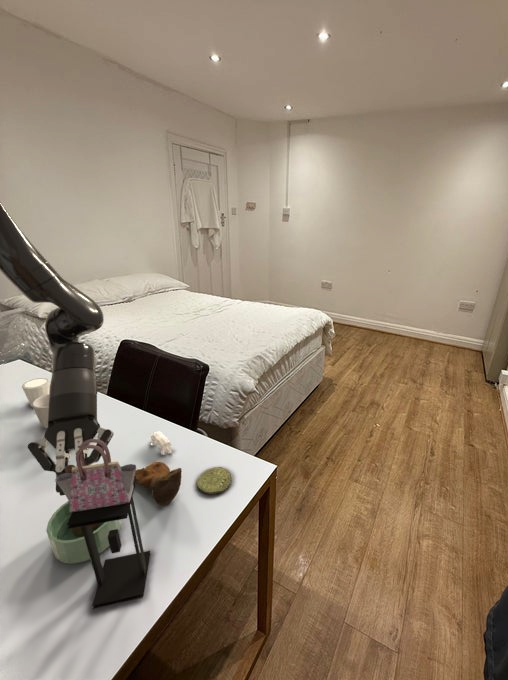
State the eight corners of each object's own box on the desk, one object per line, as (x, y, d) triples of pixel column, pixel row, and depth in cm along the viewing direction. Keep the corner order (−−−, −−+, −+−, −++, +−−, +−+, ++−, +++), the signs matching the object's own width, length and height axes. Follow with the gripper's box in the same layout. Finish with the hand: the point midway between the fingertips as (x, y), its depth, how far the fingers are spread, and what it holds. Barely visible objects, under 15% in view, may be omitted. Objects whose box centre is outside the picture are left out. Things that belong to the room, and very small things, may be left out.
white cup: (27, 400, 103) (21, 381, 100) (53, 393, 107) (48, 375, 104) (28, 410, 98) (22, 390, 95) (55, 403, 102) (50, 384, 100)
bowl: (41, 569, 57) (33, 546, 55) (72, 514, 67) (65, 493, 65) (109, 561, 59) (103, 538, 56) (128, 509, 69) (124, 488, 66)
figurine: (164, 457, 83) (162, 443, 81) (148, 443, 88) (146, 429, 86) (172, 453, 85) (171, 438, 83) (157, 439, 89) (155, 425, 88)
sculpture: (152, 475, 63) (135, 435, 74) (143, 520, 65) (127, 475, 76) (192, 468, 69) (170, 432, 80) (182, 510, 70) (162, 469, 81)
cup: (30, 421, 94) (22, 397, 91) (61, 408, 100) (55, 386, 97) (46, 435, 88) (38, 411, 85) (77, 421, 94) (72, 398, 92)
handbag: (158, 551, 61) (136, 420, 50) (152, 594, 54) (125, 454, 43) (95, 564, 58) (58, 429, 47) (81, 611, 51) (33, 466, 40)
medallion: (190, 488, 74) (190, 486, 74) (209, 465, 81) (209, 462, 81) (220, 499, 72) (220, 496, 72) (237, 474, 79) (237, 471, 79)
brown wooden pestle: (68, 538, 59) (48, 476, 54) (79, 517, 63) (62, 458, 58) (94, 535, 60) (77, 474, 54) (103, 515, 64) (88, 456, 58)
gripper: (20, 397, 56) (12, 505, 50) (109, 385, 61) (111, 483, 55) (38, 406, 63) (33, 503, 57) (117, 395, 67) (120, 483, 61)
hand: (71, 492), depth 56 cm, fingers closed on brown wooden pestle
